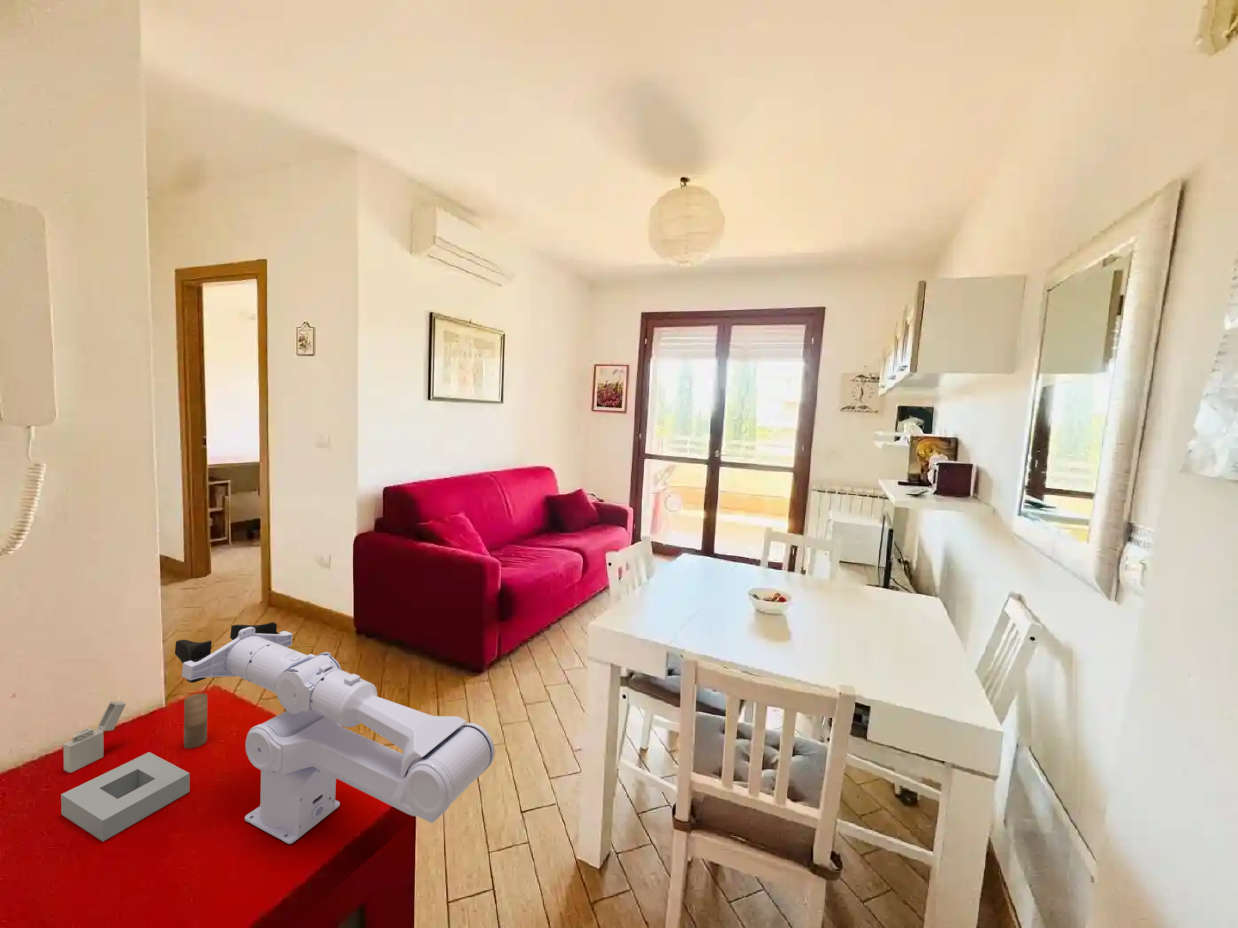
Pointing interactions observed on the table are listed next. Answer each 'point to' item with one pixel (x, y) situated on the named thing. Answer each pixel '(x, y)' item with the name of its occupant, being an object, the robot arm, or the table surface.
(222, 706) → the table surface
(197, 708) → the walnut peg
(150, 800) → the socket block
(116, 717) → the lighter
